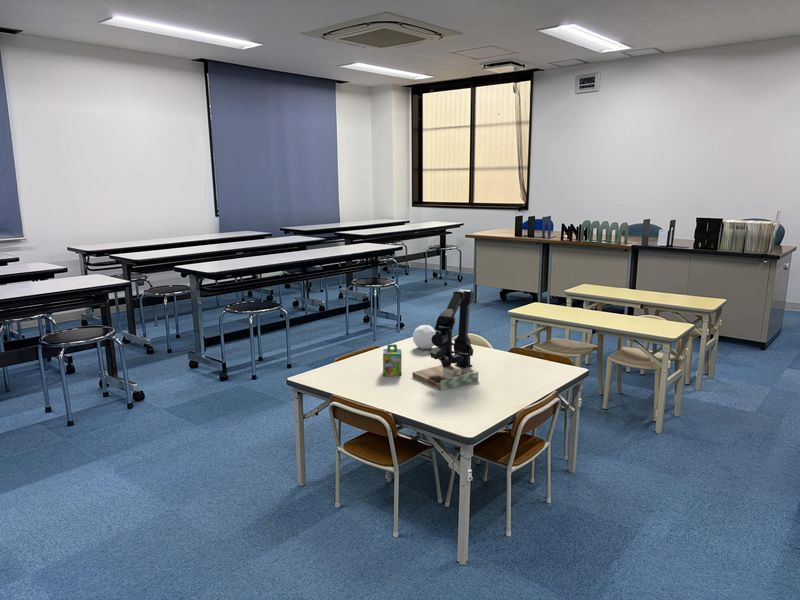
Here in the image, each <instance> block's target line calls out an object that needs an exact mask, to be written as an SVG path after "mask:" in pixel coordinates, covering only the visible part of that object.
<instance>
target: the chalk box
mask: <svg viewBox="0 0 800 600" xmlns="http://www.w3.org/2000/svg"><path fill="white" fill-rule="evenodd" d="M386 347H387V349H386V348H385V349H383V354H382V376H383V377H396V378H397V377H400V378H401V377H402V355H403V354H402V349H400V348H398V345H397V344H395V343H393V344H387V346H386Z"/></svg>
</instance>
